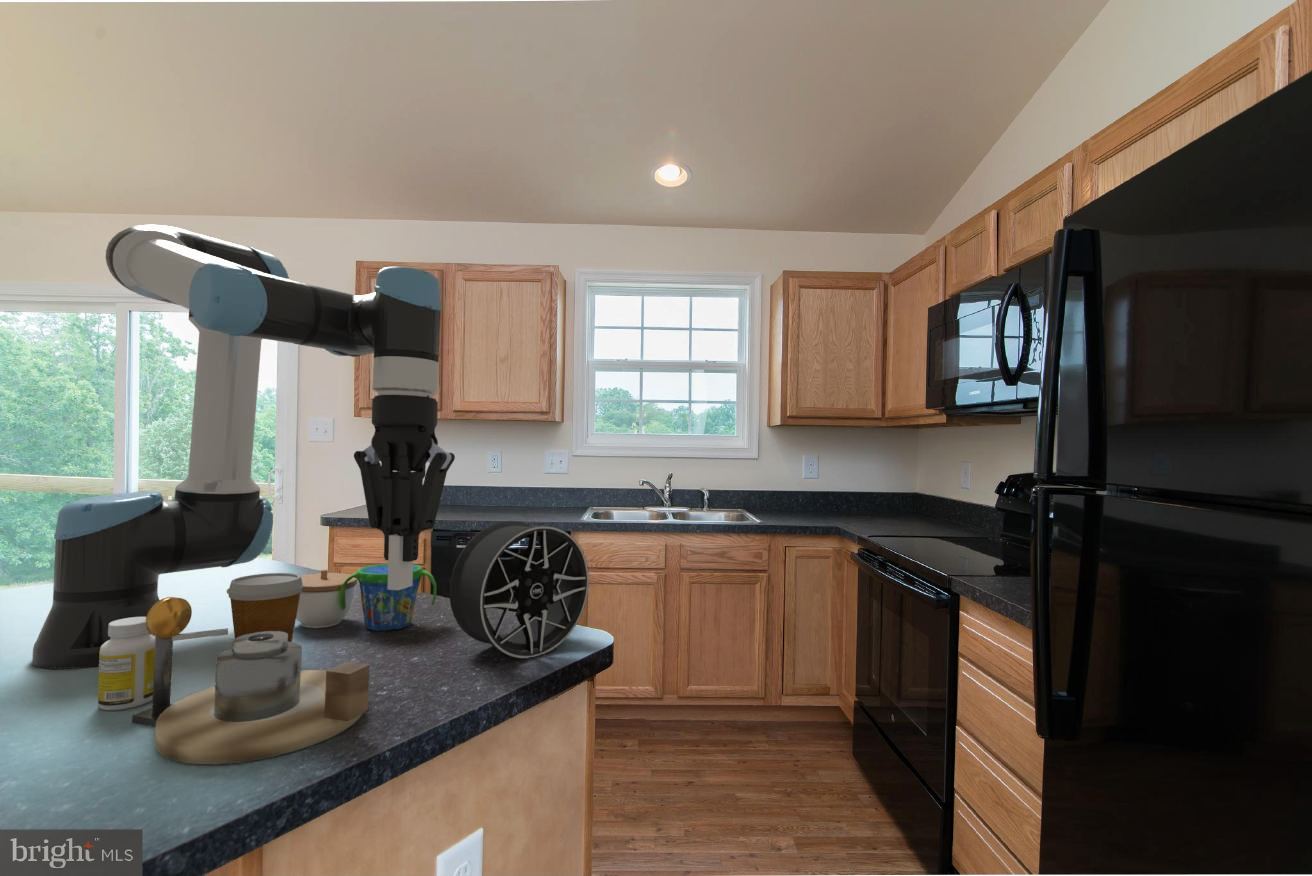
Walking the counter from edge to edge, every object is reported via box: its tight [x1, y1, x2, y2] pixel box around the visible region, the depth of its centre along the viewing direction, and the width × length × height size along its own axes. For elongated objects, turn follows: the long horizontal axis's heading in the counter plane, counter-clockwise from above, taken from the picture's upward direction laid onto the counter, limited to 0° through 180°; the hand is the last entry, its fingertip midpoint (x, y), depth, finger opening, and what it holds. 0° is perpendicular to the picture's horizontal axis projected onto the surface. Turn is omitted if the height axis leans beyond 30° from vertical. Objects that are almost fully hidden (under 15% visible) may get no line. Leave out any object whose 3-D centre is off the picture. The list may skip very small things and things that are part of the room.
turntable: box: [154, 661, 370, 765], centre depth 69 cm, size 22×20×7 cm
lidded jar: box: [295, 569, 358, 629], centre depth 108 cm, size 11×11×9 cm
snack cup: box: [340, 563, 437, 632], centre depth 107 cm, size 16×10×10 cm
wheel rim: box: [448, 520, 590, 659], centre depth 97 cm, size 20×9×20 cm, turn 136°
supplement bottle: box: [97, 617, 155, 712], centre depth 74 cm, size 5×5×10 cm
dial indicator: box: [131, 596, 229, 728], centre depth 71 cm, size 6×7×14 cm
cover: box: [214, 631, 303, 722], centre depth 68 cm, size 8×8×8 cm
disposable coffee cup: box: [226, 572, 304, 642], centre depth 88 cm, size 10×10×12 cm
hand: (400, 587), depth 75 cm, fingers closed
